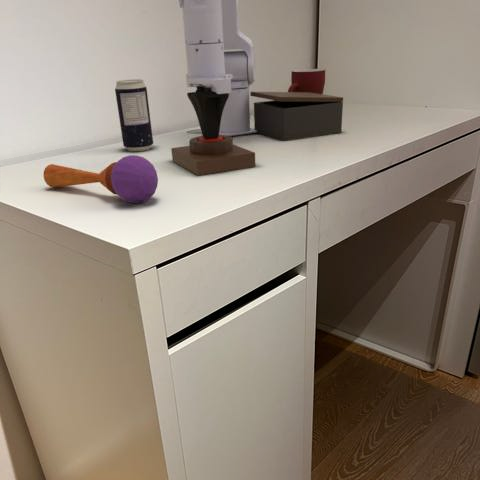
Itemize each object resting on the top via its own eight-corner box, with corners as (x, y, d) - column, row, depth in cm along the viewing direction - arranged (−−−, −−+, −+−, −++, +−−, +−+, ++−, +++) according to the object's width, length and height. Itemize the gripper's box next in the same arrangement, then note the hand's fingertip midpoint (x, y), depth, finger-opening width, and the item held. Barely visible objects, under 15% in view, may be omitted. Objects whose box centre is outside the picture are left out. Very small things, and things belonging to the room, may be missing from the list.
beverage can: (159, 146, 99) (151, 79, 93) (142, 152, 95) (133, 82, 89) (135, 145, 101) (126, 79, 95) (118, 151, 97) (107, 82, 91)
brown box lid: (280, 101, 95) (280, 96, 95) (250, 95, 105) (250, 91, 105) (343, 101, 101) (343, 97, 101) (309, 96, 111) (309, 92, 111)
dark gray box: (283, 140, 99) (283, 108, 96) (254, 131, 109) (253, 102, 106) (341, 132, 104) (343, 102, 101) (308, 124, 114) (309, 96, 111)
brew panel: (172, 161, 88) (169, 137, 86) (225, 153, 91) (223, 130, 89) (197, 175, 78) (195, 148, 76) (255, 166, 82) (254, 140, 80)
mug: (304, 120, 120) (305, 73, 115) (278, 117, 125) (277, 72, 120) (330, 113, 126) (332, 69, 121) (304, 111, 131) (304, 68, 126)
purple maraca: (67, 154, 76) (166, 155, 66) (72, 195, 78) (168, 202, 68) (32, 154, 72) (132, 155, 61) (38, 197, 74) (135, 206, 63)
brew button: (195, 148, 84) (195, 137, 83) (217, 145, 86) (217, 135, 85) (204, 153, 81) (204, 141, 80) (227, 149, 83) (227, 138, 82)
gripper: (248, 42, 71) (251, 142, 78) (212, 42, 83) (217, 129, 90) (201, 45, 69) (208, 148, 76) (170, 44, 81) (179, 134, 87)
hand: (210, 138), depth 83 cm, fingers closed, pressing on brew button
